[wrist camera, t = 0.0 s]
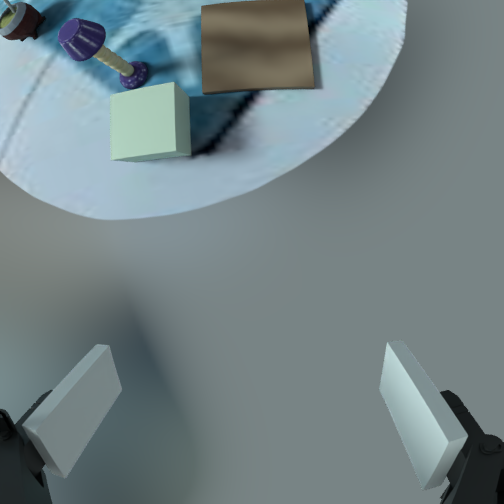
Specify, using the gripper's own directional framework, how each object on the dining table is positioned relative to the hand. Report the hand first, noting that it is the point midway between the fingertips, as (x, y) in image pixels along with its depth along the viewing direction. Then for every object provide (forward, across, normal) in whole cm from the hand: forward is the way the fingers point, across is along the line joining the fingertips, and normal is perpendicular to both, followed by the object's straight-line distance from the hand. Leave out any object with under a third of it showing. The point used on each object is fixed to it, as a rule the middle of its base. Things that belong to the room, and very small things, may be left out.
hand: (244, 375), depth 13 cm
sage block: (+28, -12, +16) cm, 35 cm away
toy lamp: (+28, -16, +25) cm, 41 cm away
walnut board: (+28, +1, +27) cm, 39 cm away
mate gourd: (+28, -38, +42) cm, 64 cm away
